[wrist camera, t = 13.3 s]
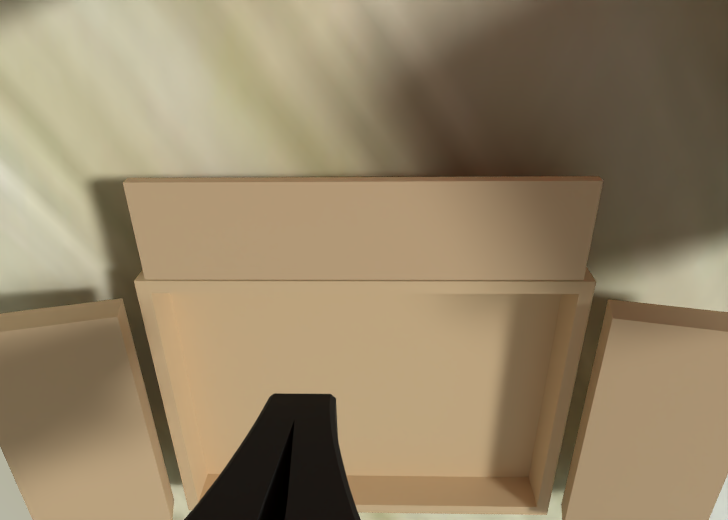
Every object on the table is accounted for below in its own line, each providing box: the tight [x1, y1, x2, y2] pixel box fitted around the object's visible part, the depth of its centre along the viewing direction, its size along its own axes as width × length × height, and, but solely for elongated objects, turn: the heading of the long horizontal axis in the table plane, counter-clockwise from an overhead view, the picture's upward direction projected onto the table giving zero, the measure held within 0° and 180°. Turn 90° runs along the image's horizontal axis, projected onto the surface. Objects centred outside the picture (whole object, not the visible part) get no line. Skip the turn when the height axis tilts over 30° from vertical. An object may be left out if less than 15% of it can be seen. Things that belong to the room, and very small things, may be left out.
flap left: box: [0, 298, 174, 520], centre depth 22 cm, size 11×1×5 cm
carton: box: [123, 176, 603, 515], centre depth 22 cm, size 16×16×2 cm
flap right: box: [561, 299, 728, 520], centre depth 21 cm, size 11×1×5 cm
